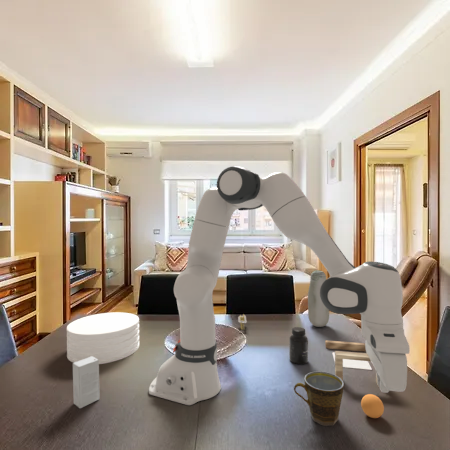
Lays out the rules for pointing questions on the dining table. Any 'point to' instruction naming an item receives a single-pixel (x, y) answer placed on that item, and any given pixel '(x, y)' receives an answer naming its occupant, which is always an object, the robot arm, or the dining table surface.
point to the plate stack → (103, 337)
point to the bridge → (351, 356)
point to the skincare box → (86, 381)
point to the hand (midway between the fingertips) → (383, 389)
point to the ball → (372, 406)
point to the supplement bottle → (298, 346)
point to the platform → (242, 320)
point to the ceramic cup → (323, 396)
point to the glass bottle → (317, 300)
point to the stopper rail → (345, 345)
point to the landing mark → (355, 363)
